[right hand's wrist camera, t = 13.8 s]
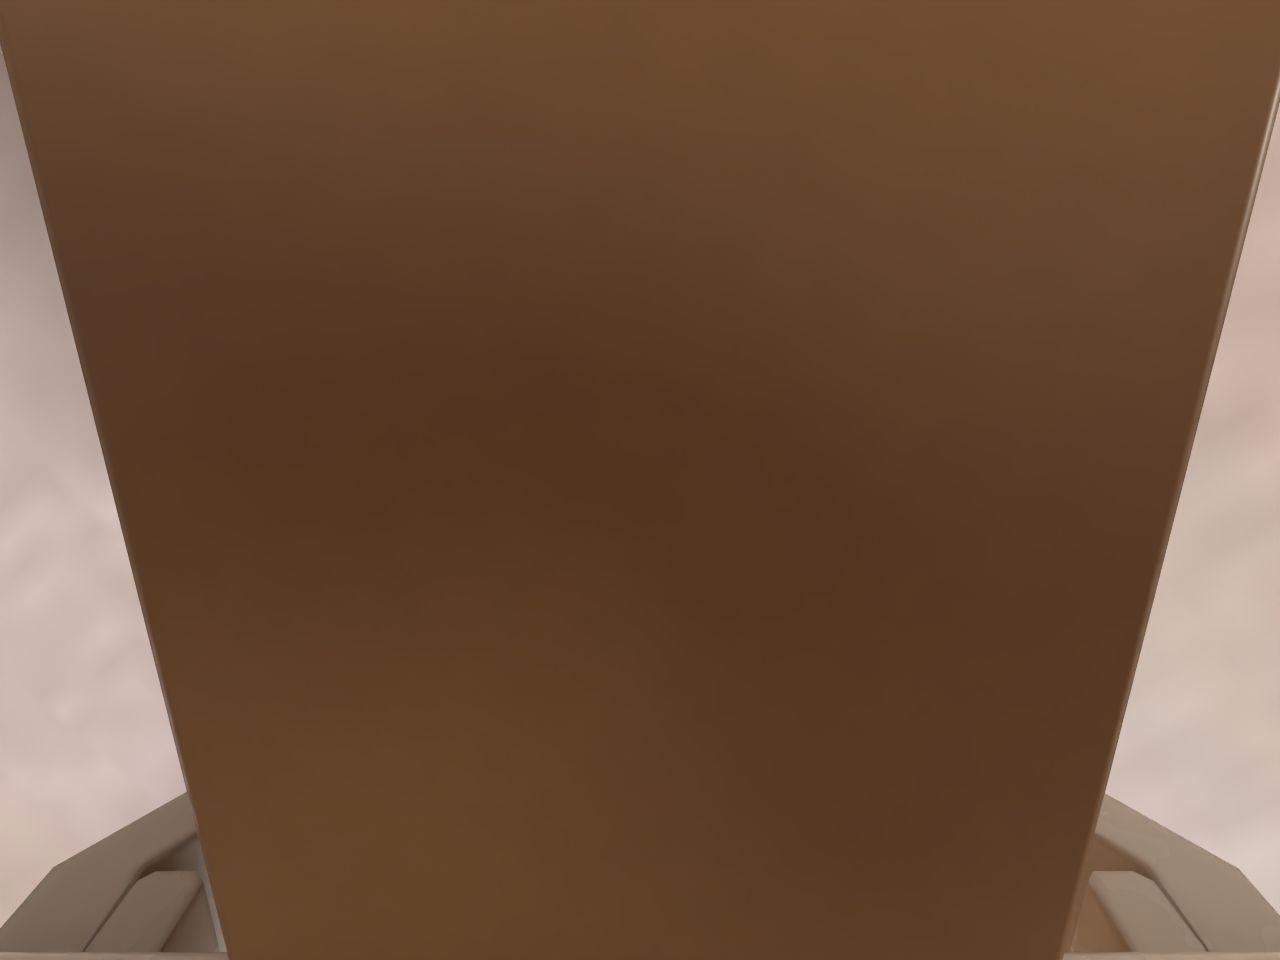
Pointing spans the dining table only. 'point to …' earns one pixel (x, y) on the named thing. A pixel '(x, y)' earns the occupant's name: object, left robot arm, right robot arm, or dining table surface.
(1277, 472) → the dining table surface
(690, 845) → the bar
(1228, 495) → the dining table surface
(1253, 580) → the dining table surface
